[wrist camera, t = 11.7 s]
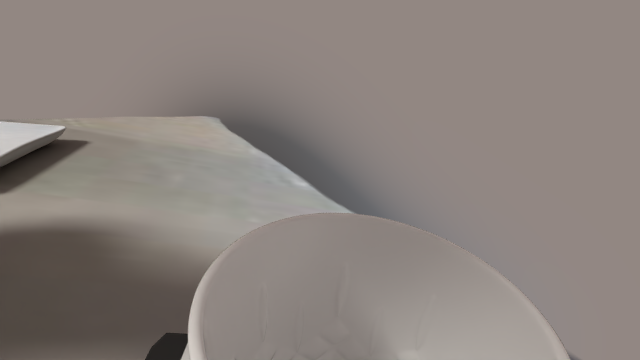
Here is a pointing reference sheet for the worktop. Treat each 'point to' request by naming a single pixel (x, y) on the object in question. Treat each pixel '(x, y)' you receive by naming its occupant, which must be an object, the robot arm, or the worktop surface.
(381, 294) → the white cup
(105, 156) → the worktop surface
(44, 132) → the salad plate
